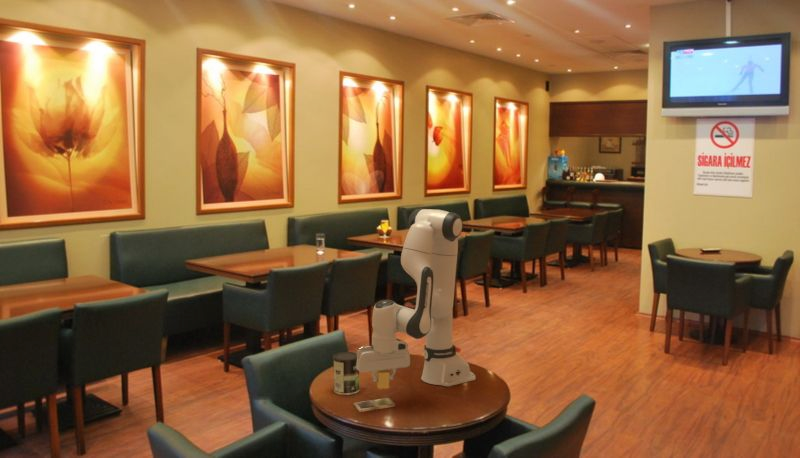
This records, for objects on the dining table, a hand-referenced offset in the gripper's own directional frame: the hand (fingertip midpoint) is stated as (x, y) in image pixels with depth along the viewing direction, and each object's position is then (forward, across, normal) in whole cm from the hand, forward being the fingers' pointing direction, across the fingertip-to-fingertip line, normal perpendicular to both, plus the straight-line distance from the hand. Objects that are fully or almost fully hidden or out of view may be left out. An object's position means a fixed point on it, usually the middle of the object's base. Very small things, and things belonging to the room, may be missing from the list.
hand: (383, 380), depth 241 cm
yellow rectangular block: (+2, 0, 0) cm, 2 cm away
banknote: (+9, -3, 0) cm, 10 cm away
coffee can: (+10, -8, +19) cm, 23 cm away
